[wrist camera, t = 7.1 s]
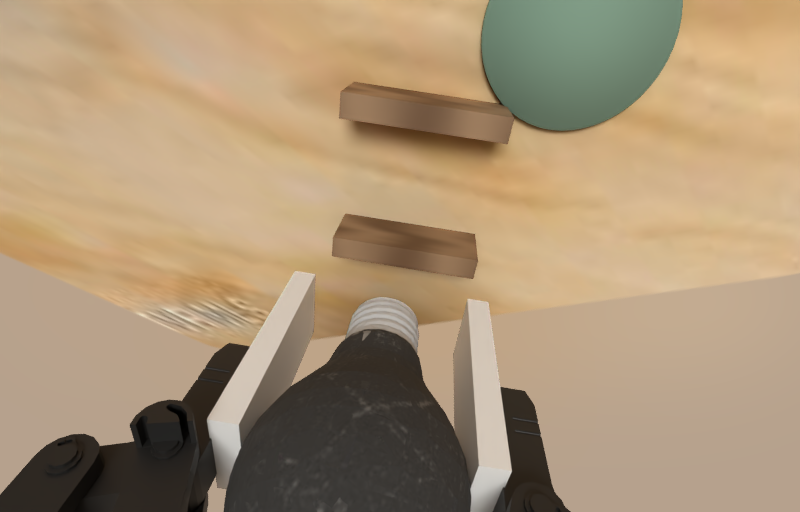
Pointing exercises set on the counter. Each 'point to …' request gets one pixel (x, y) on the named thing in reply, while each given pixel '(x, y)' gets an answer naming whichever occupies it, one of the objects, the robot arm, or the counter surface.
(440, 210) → the counter surface
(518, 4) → the pad
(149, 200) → the counter surface
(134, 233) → the counter surface
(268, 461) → the light bulb
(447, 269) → the pair of wooden planks
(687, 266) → the counter surface
